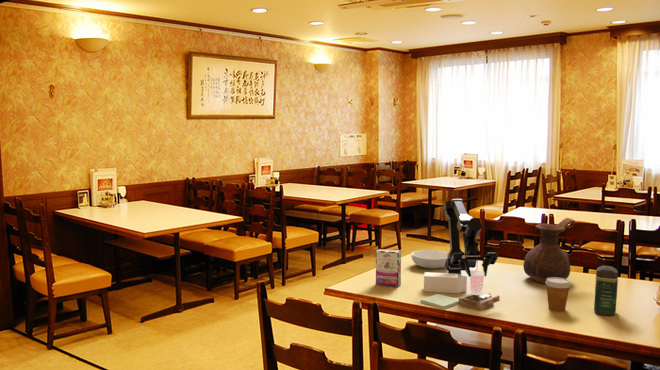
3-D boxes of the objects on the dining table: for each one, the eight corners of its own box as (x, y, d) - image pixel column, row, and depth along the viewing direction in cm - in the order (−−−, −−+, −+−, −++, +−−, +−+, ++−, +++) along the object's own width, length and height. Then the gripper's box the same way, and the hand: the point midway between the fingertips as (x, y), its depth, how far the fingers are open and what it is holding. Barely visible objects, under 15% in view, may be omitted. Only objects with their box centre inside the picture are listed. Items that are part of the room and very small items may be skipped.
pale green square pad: (437, 296, 243) (437, 293, 242) (461, 302, 234) (461, 300, 234) (420, 302, 235) (420, 299, 234) (444, 309, 226) (444, 306, 226)
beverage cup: (472, 290, 235) (473, 257, 233) (486, 293, 231) (487, 260, 229) (466, 293, 230) (467, 260, 228) (480, 296, 226) (481, 263, 224)
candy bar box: (401, 284, 261) (401, 250, 260) (398, 287, 257) (398, 252, 255) (378, 282, 265) (378, 248, 264) (375, 284, 261) (375, 250, 259)
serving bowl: (410, 271, 286) (410, 258, 285) (411, 261, 306) (411, 249, 306) (452, 272, 282) (452, 259, 282) (450, 263, 303) (450, 250, 302)
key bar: (486, 299, 238) (486, 294, 238) (491, 300, 236) (491, 295, 236) (478, 302, 234) (478, 296, 234) (483, 303, 232) (483, 298, 232)
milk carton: (423, 291, 250) (466, 293, 246) (423, 276, 249) (467, 278, 246) (424, 287, 257) (466, 289, 253) (424, 272, 256) (466, 274, 252)
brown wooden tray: (483, 295, 244) (484, 288, 244) (504, 300, 237) (505, 293, 236) (458, 304, 231) (458, 297, 231) (479, 310, 224) (480, 303, 223)
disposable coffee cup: (568, 306, 229) (569, 278, 228) (570, 313, 220) (571, 284, 219) (543, 304, 232) (544, 276, 231) (544, 311, 223) (545, 282, 222)
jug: (566, 289, 253) (569, 224, 250) (518, 282, 265) (520, 220, 262) (574, 278, 272) (576, 217, 269) (528, 272, 283) (530, 214, 280)
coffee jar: (616, 317, 216) (618, 270, 214) (593, 314, 219) (595, 268, 217) (615, 310, 224) (618, 265, 222) (594, 307, 228) (596, 263, 226)
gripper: (487, 253, 244) (495, 285, 235) (445, 254, 244) (451, 286, 234) (494, 240, 236) (502, 272, 226) (450, 240, 235) (457, 272, 225)
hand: (477, 276), depth 228 cm, fingers closed on beverage cup, 6 cm apart
